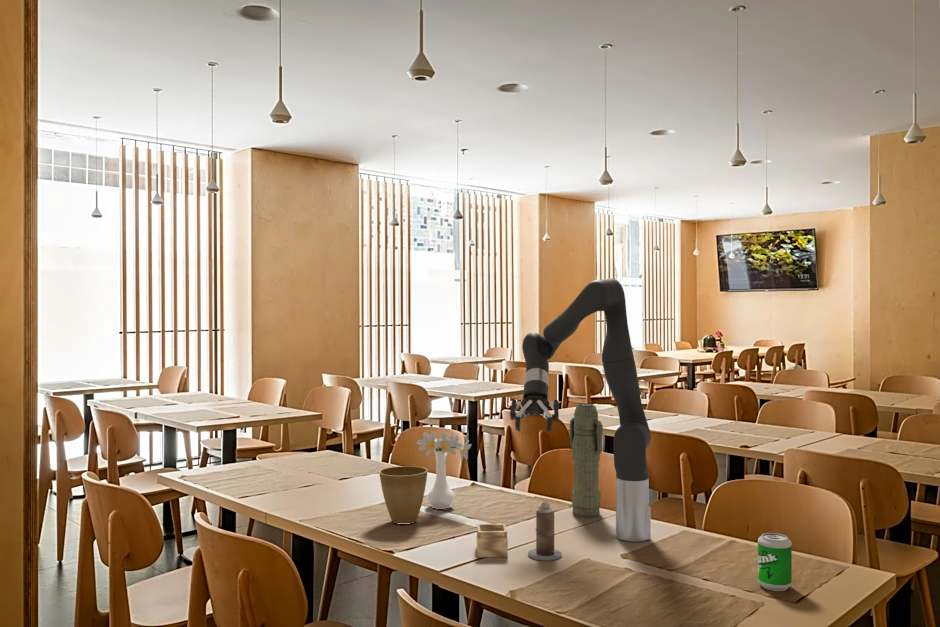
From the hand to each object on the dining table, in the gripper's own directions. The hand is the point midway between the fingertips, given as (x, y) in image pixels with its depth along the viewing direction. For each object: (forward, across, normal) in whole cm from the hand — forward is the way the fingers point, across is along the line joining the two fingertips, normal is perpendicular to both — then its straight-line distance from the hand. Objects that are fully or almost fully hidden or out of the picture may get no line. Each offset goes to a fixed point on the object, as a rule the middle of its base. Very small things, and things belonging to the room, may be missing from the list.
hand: (533, 430), depth 229 cm
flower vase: (+3, -32, +41) cm, 52 cm away
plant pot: (+16, -41, +28) cm, 52 cm away
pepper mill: (+34, +4, +9) cm, 35 cm away
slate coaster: (+34, +4, +9) cm, 36 cm away
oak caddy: (+34, -10, +10) cm, 36 cm away
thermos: (+3, +15, +40) cm, 43 cm away
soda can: (+45, +60, -1) cm, 75 cm away
